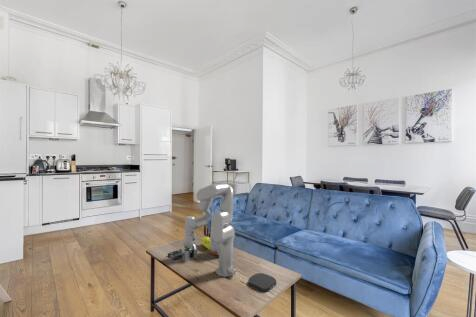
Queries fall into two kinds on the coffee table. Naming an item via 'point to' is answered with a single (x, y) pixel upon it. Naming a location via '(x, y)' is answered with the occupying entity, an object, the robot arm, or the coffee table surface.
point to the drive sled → (175, 254)
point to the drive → (188, 254)
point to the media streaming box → (262, 282)
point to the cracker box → (213, 246)
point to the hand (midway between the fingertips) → (189, 256)
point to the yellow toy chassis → (206, 242)
